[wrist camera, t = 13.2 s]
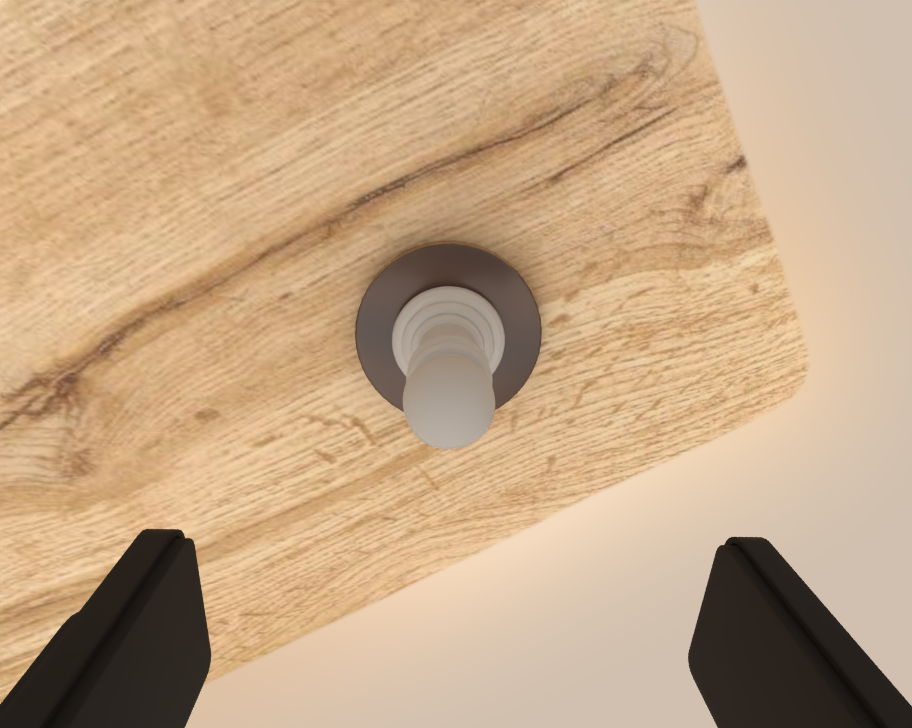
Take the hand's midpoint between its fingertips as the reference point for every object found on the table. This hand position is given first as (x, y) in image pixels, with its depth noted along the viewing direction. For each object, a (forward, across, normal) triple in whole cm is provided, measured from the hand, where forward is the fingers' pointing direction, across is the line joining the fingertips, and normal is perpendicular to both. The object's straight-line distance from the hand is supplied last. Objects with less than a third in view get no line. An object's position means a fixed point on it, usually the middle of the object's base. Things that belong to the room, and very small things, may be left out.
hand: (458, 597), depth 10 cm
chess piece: (+18, 0, +1) cm, 18 cm away
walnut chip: (+18, 0, +1) cm, 19 cm away
